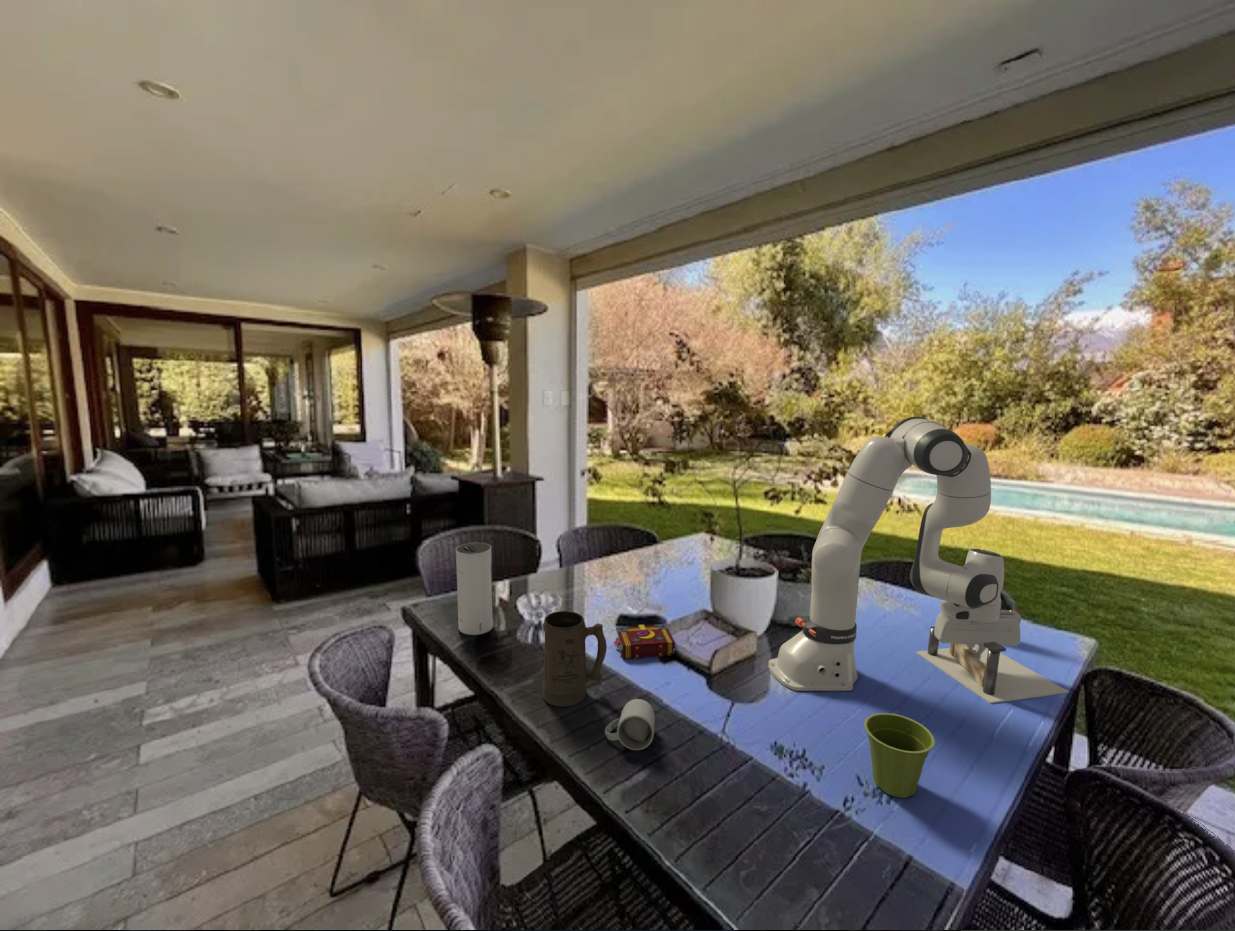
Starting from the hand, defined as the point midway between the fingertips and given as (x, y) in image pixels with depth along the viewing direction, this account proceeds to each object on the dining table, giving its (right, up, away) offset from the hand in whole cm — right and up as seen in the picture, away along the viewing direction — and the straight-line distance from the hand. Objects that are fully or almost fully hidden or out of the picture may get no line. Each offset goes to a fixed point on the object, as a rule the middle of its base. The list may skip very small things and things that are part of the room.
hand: (974, 657), depth 147 cm
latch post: (-7, -2, +7) cm, 10 cm away
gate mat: (+3, -3, -1) cm, 4 cm away
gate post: (-4, -5, -11) cm, 13 cm away
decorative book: (-88, -1, +10) cm, 89 cm away
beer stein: (-106, -4, -12) cm, 107 cm away
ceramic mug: (-93, -7, -29) cm, 97 cm away
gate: (-3, -2, -2) cm, 4 cm away
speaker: (-139, +2, +21) cm, 140 cm away
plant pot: (-43, -10, -42) cm, 60 cm away
